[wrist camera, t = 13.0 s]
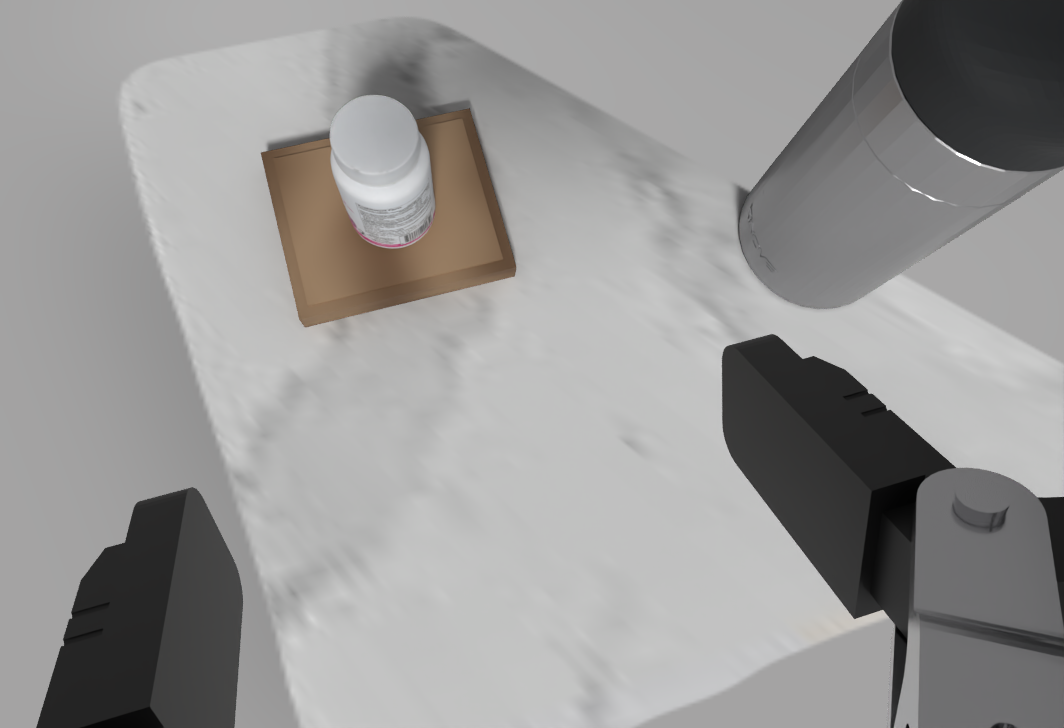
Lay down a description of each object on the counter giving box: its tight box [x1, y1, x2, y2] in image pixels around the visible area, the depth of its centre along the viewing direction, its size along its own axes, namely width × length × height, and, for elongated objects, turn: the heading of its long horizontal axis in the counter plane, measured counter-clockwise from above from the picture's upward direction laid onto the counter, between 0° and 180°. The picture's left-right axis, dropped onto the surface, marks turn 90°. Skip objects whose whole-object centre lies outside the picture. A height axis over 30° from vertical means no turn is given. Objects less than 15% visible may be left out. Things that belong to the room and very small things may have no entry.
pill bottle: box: [330, 95, 435, 249], centre depth 39 cm, size 5×5×8 cm
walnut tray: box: [261, 108, 516, 327], centre depth 44 cm, size 12×10×2 cm
